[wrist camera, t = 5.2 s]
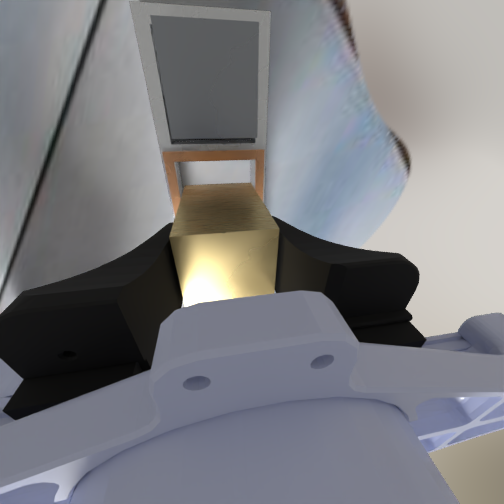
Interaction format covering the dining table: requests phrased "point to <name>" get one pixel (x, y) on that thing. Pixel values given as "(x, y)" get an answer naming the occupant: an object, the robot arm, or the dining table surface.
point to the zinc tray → (168, 146)
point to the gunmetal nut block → (208, 76)
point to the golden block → (224, 243)
